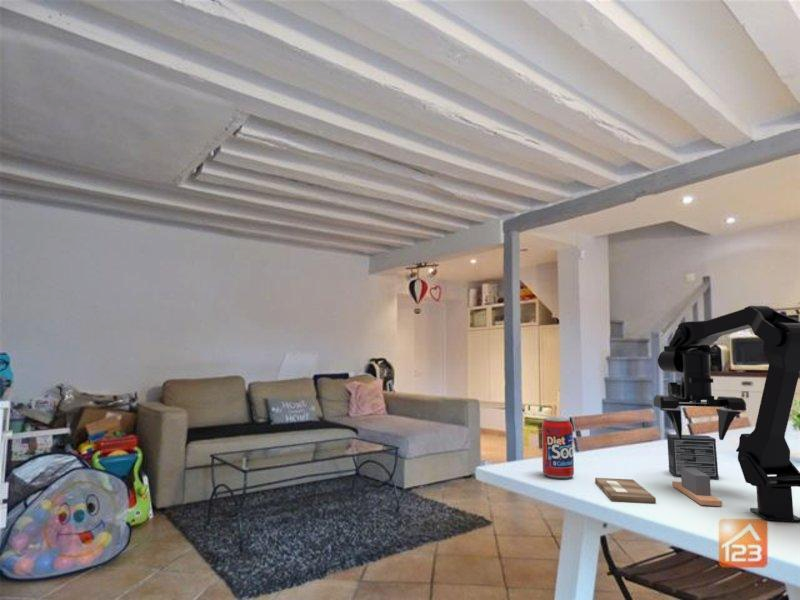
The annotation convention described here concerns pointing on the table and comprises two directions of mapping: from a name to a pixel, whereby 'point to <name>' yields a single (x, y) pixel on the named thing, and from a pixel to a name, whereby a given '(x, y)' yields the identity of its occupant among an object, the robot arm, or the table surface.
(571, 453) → the soda can
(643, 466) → the table surface
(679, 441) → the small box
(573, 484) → the table surface
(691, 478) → the stub
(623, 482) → the brown flat board
